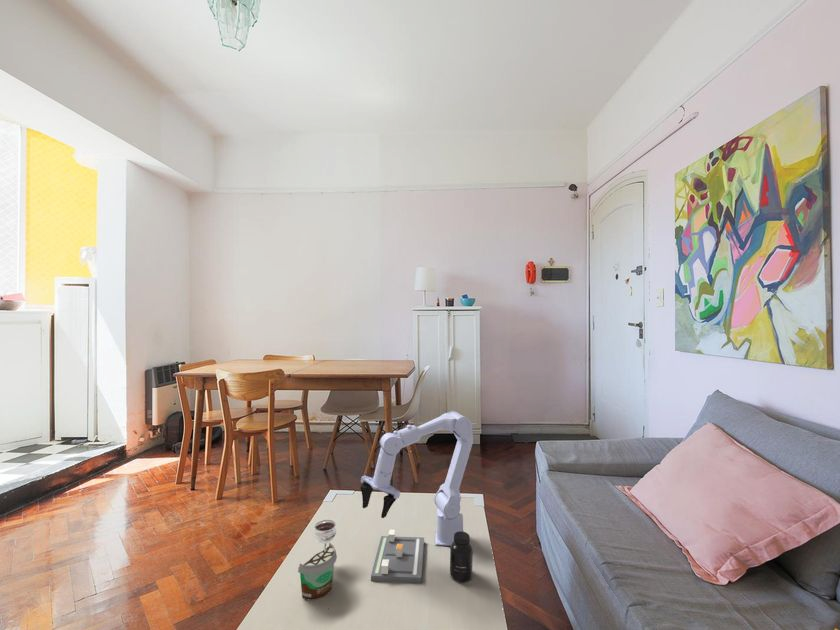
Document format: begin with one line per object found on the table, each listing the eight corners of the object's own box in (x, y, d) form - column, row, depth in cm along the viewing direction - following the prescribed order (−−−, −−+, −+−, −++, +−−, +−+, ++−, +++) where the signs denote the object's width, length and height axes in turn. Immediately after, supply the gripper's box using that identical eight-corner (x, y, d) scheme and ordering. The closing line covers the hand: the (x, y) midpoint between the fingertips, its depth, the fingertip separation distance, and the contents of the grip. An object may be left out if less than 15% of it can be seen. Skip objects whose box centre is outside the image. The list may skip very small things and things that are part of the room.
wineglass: (309, 567, 116) (309, 528, 116) (322, 554, 123) (322, 517, 123) (327, 572, 114) (328, 533, 114) (340, 559, 120) (340, 521, 120)
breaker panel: (424, 541, 130) (424, 537, 130) (421, 582, 110) (421, 577, 110) (381, 540, 131) (381, 535, 131) (370, 580, 111) (370, 575, 111)
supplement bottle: (458, 586, 109) (458, 544, 109) (445, 571, 115) (445, 532, 115) (477, 578, 112) (477, 538, 112) (464, 564, 118) (464, 526, 118)
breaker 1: (389, 567, 114) (389, 559, 114) (387, 574, 111) (387, 566, 111) (382, 567, 114) (382, 559, 114) (381, 573, 111) (381, 565, 111)
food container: (313, 610, 99) (313, 572, 99) (297, 601, 103) (297, 564, 103) (345, 582, 110) (345, 548, 110) (330, 574, 113) (330, 541, 113)
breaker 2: (395, 536, 130) (395, 529, 130) (394, 541, 127) (394, 534, 127) (389, 536, 130) (389, 529, 130) (388, 541, 127) (388, 534, 127)
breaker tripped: (403, 551, 122) (403, 543, 122) (402, 557, 119) (402, 549, 119) (397, 551, 122) (397, 543, 122) (395, 557, 119) (396, 549, 119)
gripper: (359, 464, 124) (349, 506, 123) (396, 481, 117) (385, 525, 116) (371, 461, 130) (362, 500, 129) (406, 476, 123) (397, 518, 122)
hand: (374, 512), depth 123 cm, fingers open, 7 cm apart
